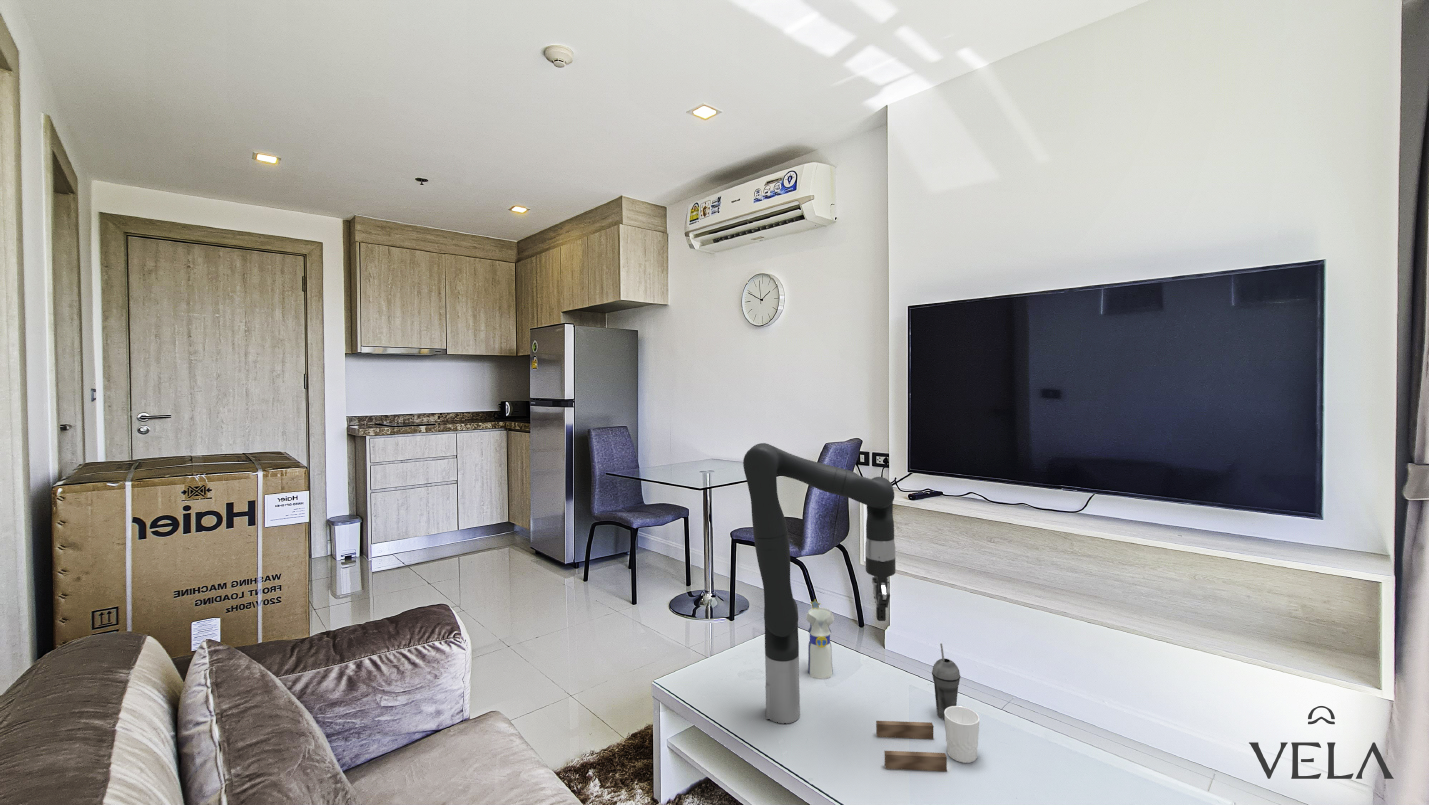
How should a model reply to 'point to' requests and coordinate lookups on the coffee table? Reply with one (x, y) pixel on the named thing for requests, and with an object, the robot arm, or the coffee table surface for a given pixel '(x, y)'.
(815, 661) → the white and blue figurine
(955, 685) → the beverage cup
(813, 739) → the coffee table surface
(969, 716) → the white cup
